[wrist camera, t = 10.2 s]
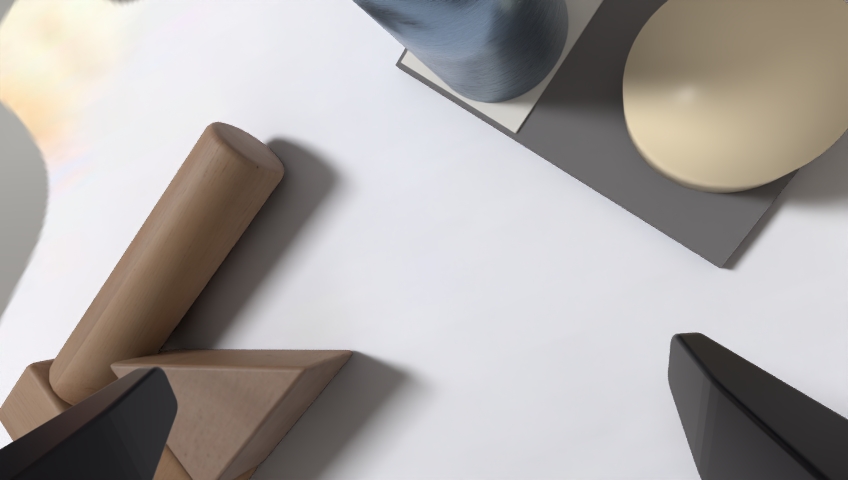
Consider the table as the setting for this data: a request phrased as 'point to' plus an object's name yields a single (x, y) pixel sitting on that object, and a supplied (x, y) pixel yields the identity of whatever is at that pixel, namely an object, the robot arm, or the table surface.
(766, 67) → the beige round puck
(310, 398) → the wooden block
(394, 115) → the table surface
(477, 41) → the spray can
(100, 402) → the robot arm
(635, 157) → the mat
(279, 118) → the table surface
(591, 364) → the table surface
